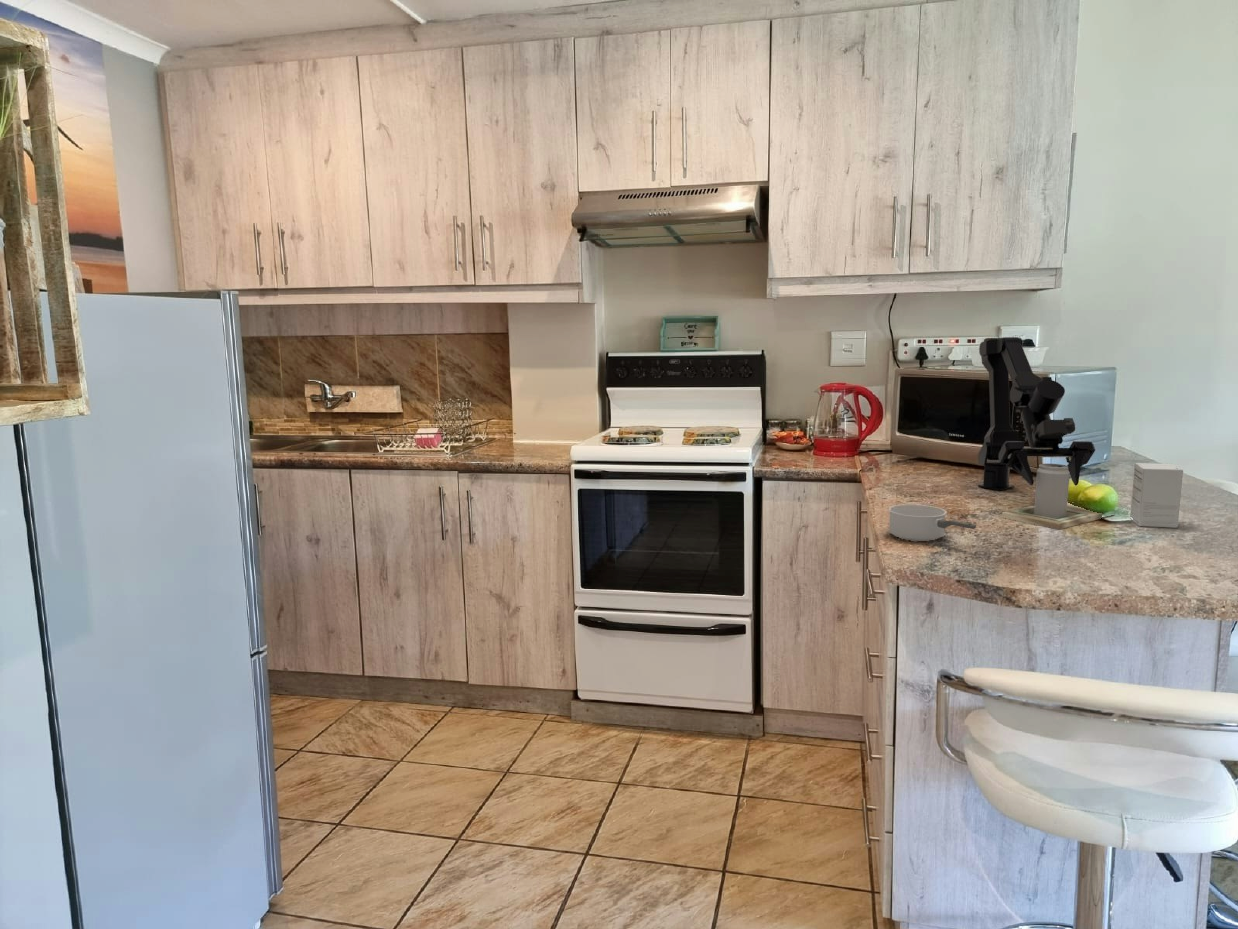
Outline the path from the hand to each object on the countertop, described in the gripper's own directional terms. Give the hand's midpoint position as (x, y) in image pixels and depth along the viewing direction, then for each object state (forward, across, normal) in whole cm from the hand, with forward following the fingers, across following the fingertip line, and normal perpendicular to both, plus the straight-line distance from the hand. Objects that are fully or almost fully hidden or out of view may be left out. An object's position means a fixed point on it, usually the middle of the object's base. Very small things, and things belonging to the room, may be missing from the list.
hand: (1054, 484), depth 179 cm
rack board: (+3, +4, +9) cm, 10 cm away
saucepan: (+19, -30, -8) cm, 37 cm away
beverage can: (+5, 0, +7) cm, 8 cm away
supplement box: (+7, +20, +5) cm, 22 cm away
